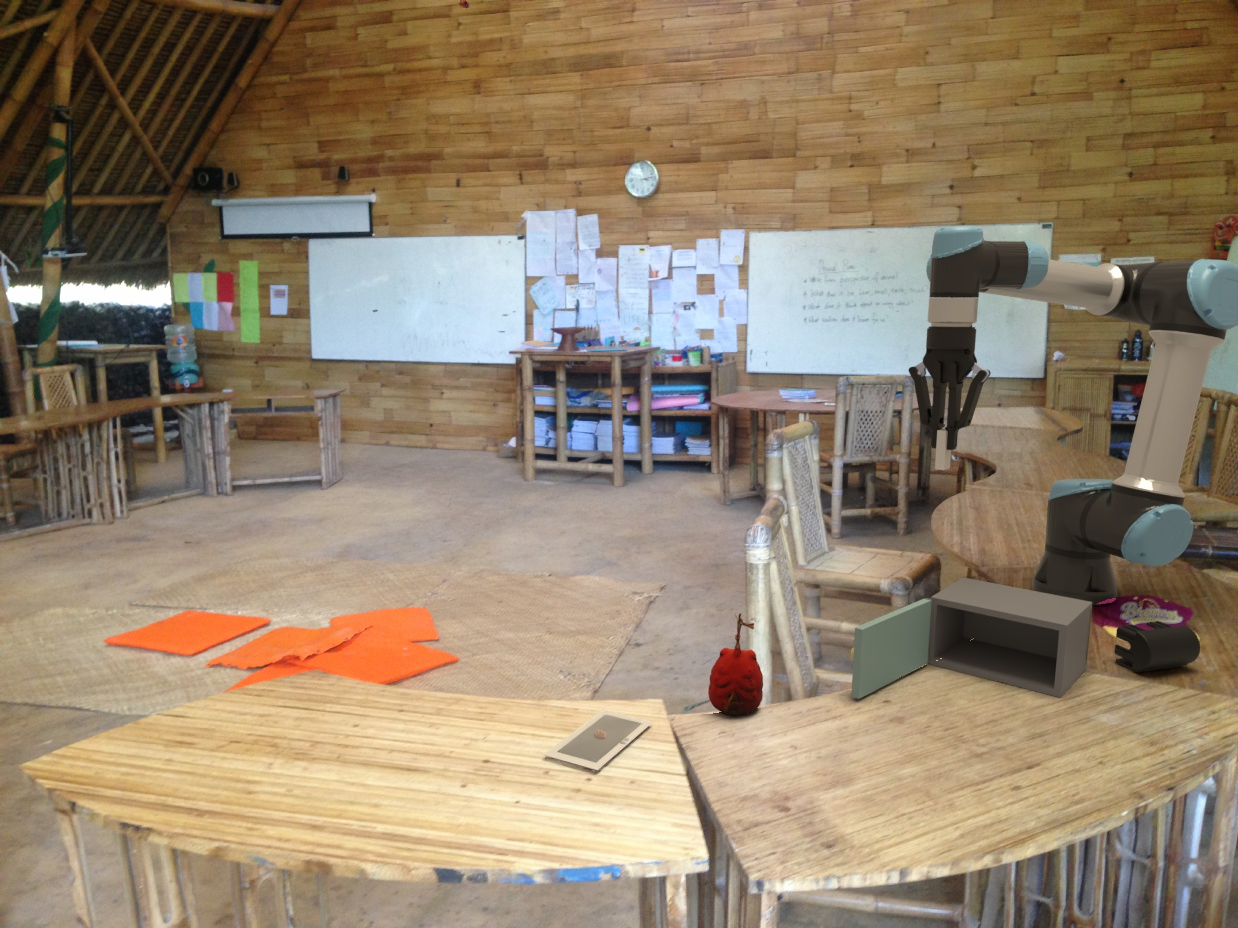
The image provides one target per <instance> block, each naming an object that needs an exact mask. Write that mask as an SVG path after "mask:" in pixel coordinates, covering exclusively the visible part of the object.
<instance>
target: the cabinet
mask: <svg viewBox="0 0 1238 928" xmlns="http://www.w3.org/2000/svg"><path fill="white" fill-rule="evenodd" d="M930 598H931V599H932V607H931V623H930V638H929V653H928V663H927V664H926V665H931V666H935V667H939V668H943V669H947V670H951V671H954V672H958V673H963V674H965V675H970V676H973V677H974V676H975V677H978V678H982V679H986V680H989V679H992V680H991V681H993V680H994V682H997V681H999V682H998V683H1001V682H1004V683H1003V684H1005V683H1007V684H1006V685H1009V684H1010V686H1013V685H1014V687H1017V688H1020V687H1021V689H1024V690H1029V691H1032V692H1036V693H1037V692H1038V693H1040V694H1045V695H1049V696H1053V697H1056V698H1060V699H1061V698H1062V697H1063V696H1064V695H1065V694H1066V693H1067V691H1068V690H1069V689H1071V687H1072V686H1073V685H1074V684H1075V682H1077V680H1078V679H1079V678H1080V676H1081V675H1082V674H1083V673H1084V672H1085V671H1086V670H1087V663H1088V653H1089V643H1090V634H1091V633H1090V632H1091V631H1090V629H1091V624H1092V623H1091V621H1092V611H1093V605H1092V602H1089V601H1084V600H1079V599H1074V598H1069V597H1063V596H1058V595H1053V594H1048V593H1042V592H1037V591H1033V590H1032V589H1025V588H1022V587H1021V588H1020V587H1015V586H1012V585H1011V586H1010V585H1006V584H999V583H994V582H988V581H984V580H980V579H979V580H978V579H975V578H968V577H962V578H960V579H958V580H957V581H955V582H953V583H952V584H950V585H948V586H946V587H945V588H943V589H942V590H940V591H938V592H937V593H935V594H933V595H932V596H930ZM973 638H974V639H973ZM971 639H973V640H971ZM970 640H971V641H970ZM940 658H942V659H940ZM936 660H938V661H936ZM929 663H930V664H929Z"/></svg>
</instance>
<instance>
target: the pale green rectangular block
mask: <svg viewBox="0 0 1238 928" xmlns="http://www.w3.org/2000/svg"><path fill="white" fill-rule="evenodd" d="M931 607H932V599H931V597H924V598H922V599H919V600H917V601H915V602H912V603H910V604H907V605H905V606H903V607H902V608H898V609H896V610H893V611H891V612H889V613H885V614H883V615H882V616H879V617H877V618H874V619H872V620H870V621H866V622H865V623H863V624H860V625H858V626H856V627H854V640H853V647H852V648H851V650H850V653H849V658H850V661H852V662H853V663H852V679H851V680H852V681H851V697H852V698H854V699H858V700H860V699H862V698H863V697H865V696H867V695H869V694H871V693H874V692H875V691H877V690H879V689H881V688H883V687H884V686H887V685H889V684H890V683H892V682H894V681H896V680H898V679H899V678H898V677H900V676H902V677H904V676H906V675H908V674H910V673H912V672H914V671H916V670H918V669H920V668H921V667H924V666H925V665H928V664H927V663H928V653H929V638H930V623H931ZM900 678H901V677H900Z"/></svg>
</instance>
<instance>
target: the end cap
mask: <svg viewBox="0 0 1238 928" xmlns="http://www.w3.org/2000/svg"><path fill="white" fill-rule="evenodd" d="M1146 626H1147V627H1150V628H1151V629H1146V628H1143V627H1140V626H1138V625H1134V624H1131V623H1130V624H1126V625H1125V624H1124V625H1119V626H1118V627H1117V628H1116V633H1115V638H1117V639H1120V640H1122V641H1125V642H1127V643H1129V647H1130V648H1126V647H1124V646H1122V645H1120V644H1115V645H1114V654H1115V655H1116V656H1118V657H1119V658H1115V660H1114V662H1115V664H1116V665H1118V666H1120V667H1123V668H1125V669H1127V670H1129V671H1131V672H1134V673H1145V672H1152V671H1158V670H1166V669H1172V668H1179V667H1184V666H1186V665H1188V664H1191V663H1193V662H1195V661H1196V660H1197V659H1198V657H1199V655H1200V652H1201V644H1200V640H1199V638H1198V635H1197V634H1196V632H1195V631H1194V630H1193V629H1192V628H1191V627H1189V626H1187V625H1185V624H1184V625H1175V626H1172V625H1170V624H1168V623H1164V622H1163V621H1159V620H1156V621H1149V622H1146Z"/></svg>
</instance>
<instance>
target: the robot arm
mask: <svg viewBox="0 0 1238 928" xmlns="http://www.w3.org/2000/svg"><path fill="white" fill-rule="evenodd" d="M984 239H985V238H984V231H983V229H982V227H979V226H973V225H972V226H971V225H967V226H965V225H961V226H959V225H958V226H957V225H956V226H944V227H940V228H938V229H936V231H935V232H934V234H933V240H932V247H931V248H932V249H931V254H930V257H929V258H928V260H927V262H926V269H925V270H926V276H927V277H926V278H927V279H928V281H929V299H928V309H927V310H928V311H927V322H928V323H930V324H931V325H930V326H928V328H927V329H926V344H925V348H926V349H925V354H924V356H923V357H922V361H921V362H919V363H918V364H917V365H915V366H910V367H909V368H908V373H909V375H910V378H911V379H912V380H913V384H914V390H915V395H916V402H917V408H918V413H919V414H918V415H919V418H920V419H919V420H920V423H921V424H922V425H924V426H927V427H929V428H930V429H931V440H930V447H931V448H932V449H935V464H934V470H939V471H945V470H949V469H950V468H951V459H952V457H951V456H952V455H951V454H952V451H954V450H956V449H957V447H958V438H959V437H958V435H959V430H961V429H963V428H967V427H969V426H971V424H972V420H973V416H974V414H975V411H976V408H977V406H978V402H979V399H980V396H981V393H982V388H983V387H984V384H985V382H986V381H987V380H988V378H990V376H991V373H992V372H991V371H990V369H985V368H984V367H982V366H981V365H979V364H978V359H977V357H976V355H975V351H976V339H977V328H976V327H975V326H973V325H974V324H976V323H977V321H978V310H979V309H978V307H979V298H980V293H982V294H988V295H996V296H1003V297H1008V298H1017V299H1024V300H1029V301H1037V302H1044V303H1050V304H1057V305H1065V306H1070V307H1071V306H1072V307H1078V308H1083V309H1084V308H1085V310H1086V311H1087V312H1088V313H1090V314H1091V315H1095V316H1098V317H1099V316H1100V317H1106V318H1111V319H1116V320H1120V321H1125V322H1127V323H1132V324H1137V325H1141V326H1146V327H1147V326H1149V329H1148V335H1150V337H1151V338H1152V340H1153V341H1154V343H1155V345H1154V349H1153V353H1152V356H1151V357H1152V358H1151V361H1150V366H1149V371H1148V375H1147V378H1146V382H1145V387H1144V391H1143V394H1142V399H1141V403H1140V407H1139V411H1138V416H1137V418H1136V424H1135V427H1134V431H1133V436H1132V440H1131V444H1130V448H1129V452H1128V456H1127V460H1126V463H1125V464H1126V465H1125V468H1124V471H1123V474H1122V475H1121V476H1120V477H1119V476H1118V478H1116V479H1109V478H1108V479H1107V478H1067V479H1064V478H1063V479H1058V480H1056V481H1054V482H1053V483H1052V484H1051V486H1050V490H1049V496H1048V498H1047V513H1046V527H1045V528H1046V529H1045V541H1044V542H1045V543H1044V552H1043V554H1042V557H1041V559H1040V561H1039V564H1038V566H1037V567H1036V570H1035V573H1034V575H1033V576H1032V582H1031V583H1032V584H1031V590H1032V591H1037V592H1042V593H1048V594H1053V595H1058V596H1063V597H1069V598H1074V599H1079V600H1084V601H1089V602H1092V606H1097V605H1096V604H1097V603H1099V602H1102V601H1105V600H1107V599H1112V598H1116V597H1117V598H1118V592H1119V591H1118V584H1117V581H1116V578H1115V573H1114V570H1113V566H1112V561H1111V556H1114V557H1118V558H1121V559H1124V560H1126V561H1128V562H1129V563H1132V564H1137V565H1138V564H1139V565H1143V566H1146V567H1161V566H1165V565H1167V564H1169V563H1172V562H1173V561H1174V560H1175V559H1177V558H1178V557H1180V556H1181V555H1182V554H1183V553H1184V551H1185V550H1186V549H1187V547H1188V546H1189V544H1190V542H1191V540H1192V537H1193V532H1194V522H1193V519H1192V516H1191V513H1190V512H1189V511H1188V510H1187V509H1186V508H1185V507H1184V501H1185V497H1186V494H1185V493H1184V492H1183V490H1182V489H1181V488H1180V486H1179V480H1180V476H1181V472H1182V469H1183V466H1184V461H1185V456H1186V452H1187V450H1188V445H1189V441H1190V437H1191V433H1192V428H1193V426H1194V425H1193V424H1194V421H1195V416H1196V414H1197V413H1196V412H1197V409H1198V404H1199V400H1200V397H1201V396H1200V395H1201V392H1202V389H1203V384H1204V381H1205V378H1206V377H1205V376H1206V373H1207V369H1208V366H1209V360H1210V357H1211V353H1212V351H1213V350H1214V349H1215V348H1217V347H1218V346H1220V345H1222V344H1224V342H1225V339H1226V336H1227V335H1226V334H1227V331H1228V330H1231V329H1233V328H1235V327H1237V326H1238V265H1237V264H1236V263H1234V262H1232V261H1228V260H1226V259H1225V260H1224V259H1223V260H1222V259H1208V258H1200V259H1192V260H1191V259H1190V260H1177V261H1173V260H1172V261H1155V262H1144V263H1135V264H1133V263H1132V264H1116V263H1112V262H1110V263H1109V262H1105V263H1101V264H1099V265H1097V266H1094V265H1085V264H1079V263H1073V262H1067V261H1063V260H1062V261H1061V260H1057V259H1055V260H1054V259H1050V258H1049V254H1048V252H1047V250H1046V248H1045V247H1044V246H1043V245H1042V244H1041V243H1039V242H1034V241H1033V242H1032V241H1026V240H1022V241H1016V240H1013V241H1011V240H1008V241H1007V240H1005V241H1003V240H1002V241H1001V240H999V241H998V240H997V241H996V240H994V241H991V240H984ZM927 372H928V374H929V375H930V377H931V378H932V388H933V389H932V390H933V391H932V401H931V399H930V398H931V397H930V392H929V391H930V390H929V386H928V381H927V377H926V375H927ZM971 372H972V373H971ZM969 374H971V378H972V380H971V382H970V385H969V387H968V391H967V394H966V396H965V400H964V404H963V406H962V392H963V387H964V380H965V379H966V378H967V377H968V376H969ZM947 387H948V398H947V403H948V404H947V414H946V413H945V412H946V397H947ZM931 402H932V404H931ZM961 406H962V409H961ZM945 415H947V416H946V418H947V419H946V424H945ZM1191 519H1192V520H1191Z"/></svg>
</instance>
